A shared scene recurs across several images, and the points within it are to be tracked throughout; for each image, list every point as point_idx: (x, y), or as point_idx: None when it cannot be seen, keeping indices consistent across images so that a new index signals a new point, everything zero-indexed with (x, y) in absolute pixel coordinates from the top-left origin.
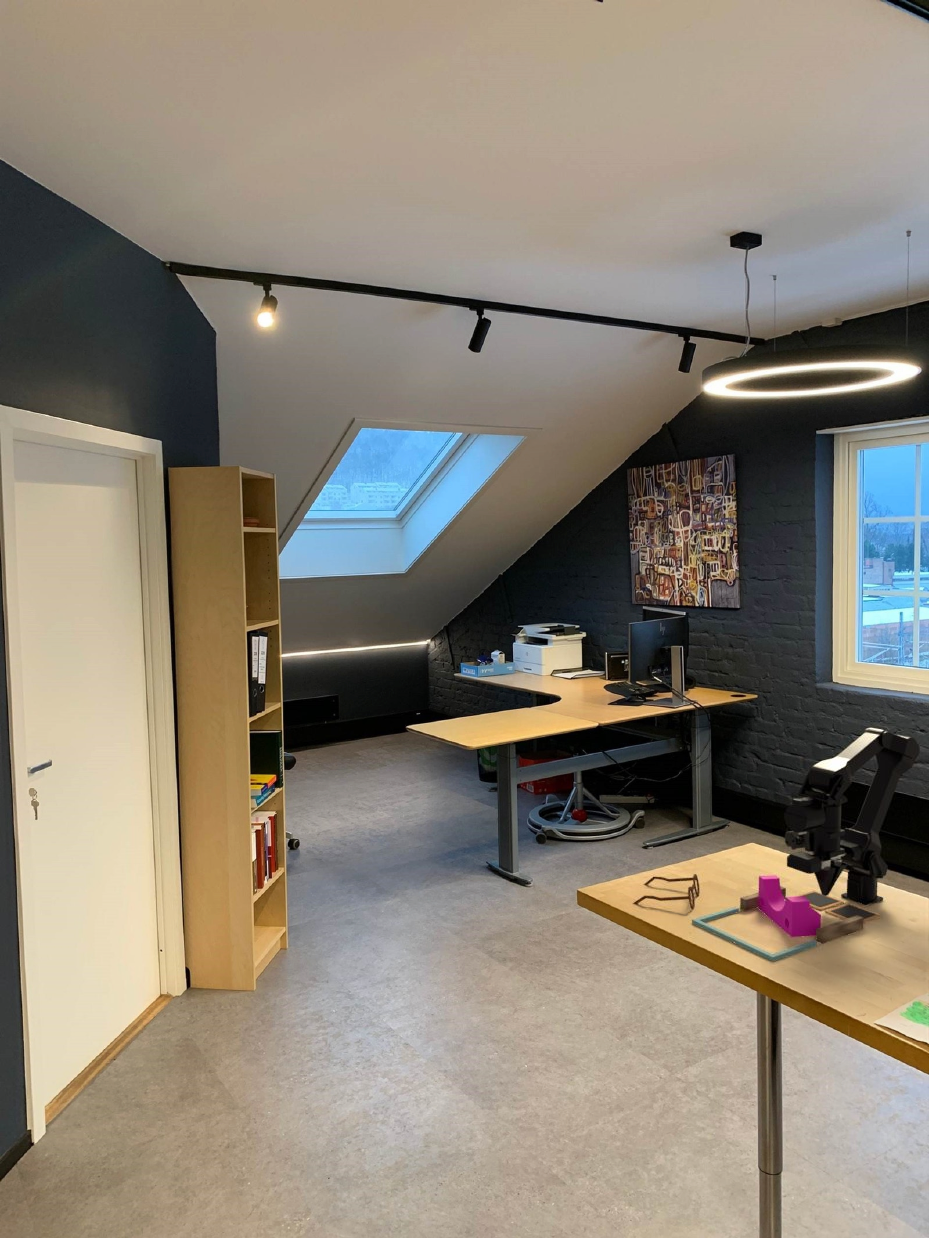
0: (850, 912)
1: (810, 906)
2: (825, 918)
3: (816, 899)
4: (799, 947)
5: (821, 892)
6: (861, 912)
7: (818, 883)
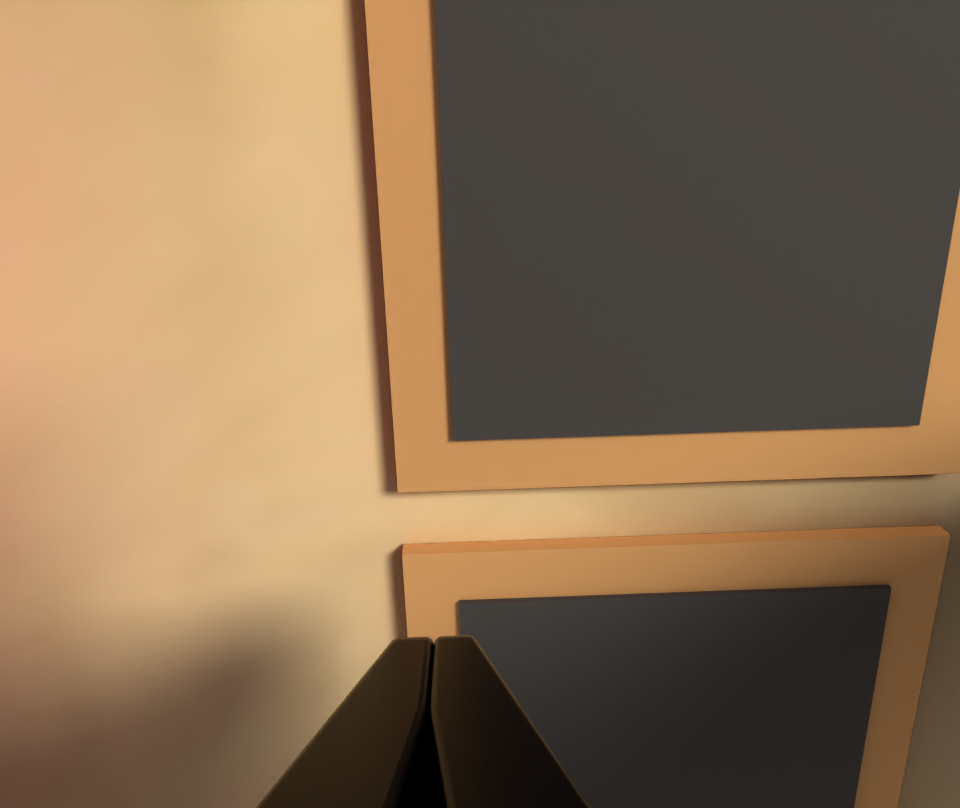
0: (645, 746)
1: (388, 298)
2: (239, 670)
3: (680, 191)
4: None
5: (375, 663)
6: (759, 804)
7: (272, 795)
